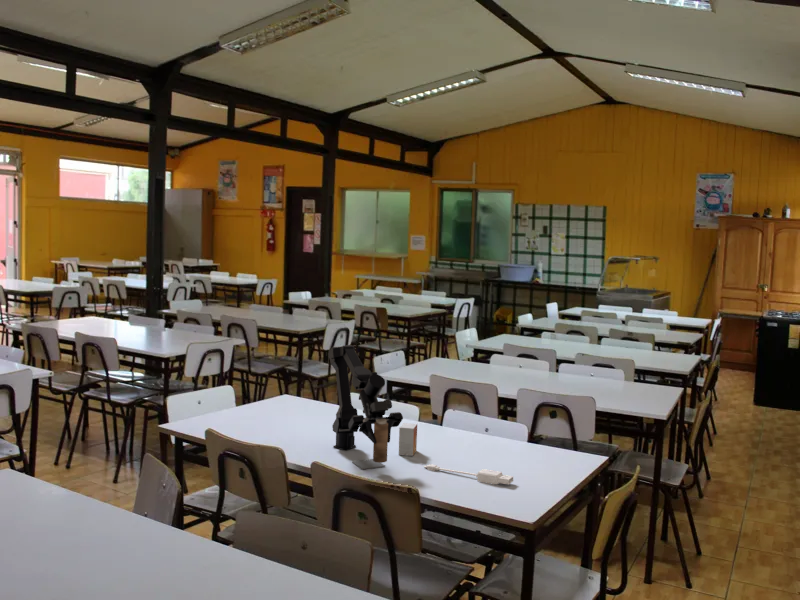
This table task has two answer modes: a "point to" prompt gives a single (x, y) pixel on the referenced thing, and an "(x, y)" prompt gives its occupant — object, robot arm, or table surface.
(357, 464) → the coaster
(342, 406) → the robot arm
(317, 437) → the table surface
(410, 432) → the small box
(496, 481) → the charging cable
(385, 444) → the pepper mill
